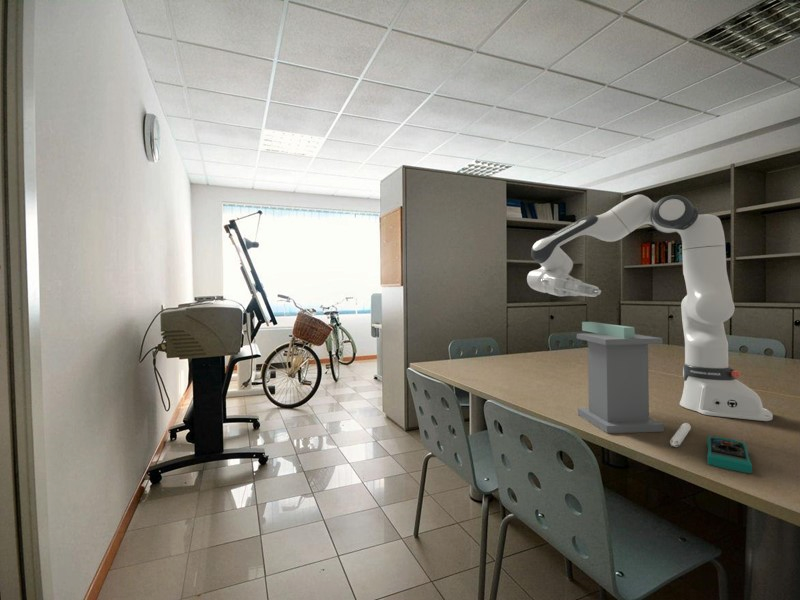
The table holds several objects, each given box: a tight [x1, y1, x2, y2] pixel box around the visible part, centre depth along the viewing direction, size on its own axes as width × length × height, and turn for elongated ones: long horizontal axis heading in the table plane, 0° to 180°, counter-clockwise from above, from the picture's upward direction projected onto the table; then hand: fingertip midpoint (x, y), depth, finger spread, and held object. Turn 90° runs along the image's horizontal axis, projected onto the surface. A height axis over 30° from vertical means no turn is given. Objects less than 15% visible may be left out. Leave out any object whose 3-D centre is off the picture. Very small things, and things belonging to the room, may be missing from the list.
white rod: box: [669, 422, 692, 448], centre depth 98 cm, size 18×2×2 cm, turn 134°
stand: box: [576, 332, 665, 434], centre depth 110 cm, size 16×16×26 cm
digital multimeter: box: [706, 436, 753, 474], centre depth 86 cm, size 7×15×3 cm, turn 140°
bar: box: [581, 321, 636, 338], centre depth 115 cm, size 23×3×3 cm, turn 1°
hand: (589, 289), depth 127 cm, fingers open, 8 cm apart
